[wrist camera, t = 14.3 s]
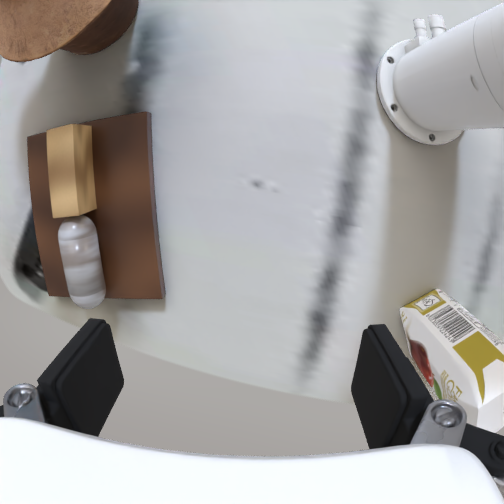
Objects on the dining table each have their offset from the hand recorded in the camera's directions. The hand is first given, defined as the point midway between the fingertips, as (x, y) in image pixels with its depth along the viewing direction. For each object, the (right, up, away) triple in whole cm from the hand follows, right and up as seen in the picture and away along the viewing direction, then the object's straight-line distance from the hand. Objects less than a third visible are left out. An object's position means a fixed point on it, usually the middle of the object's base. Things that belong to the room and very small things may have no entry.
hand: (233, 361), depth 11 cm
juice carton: (+23, -5, +26) cm, 35 cm away
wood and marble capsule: (-18, +7, +20) cm, 28 cm away
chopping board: (-17, +8, +22) cm, 29 cm away
